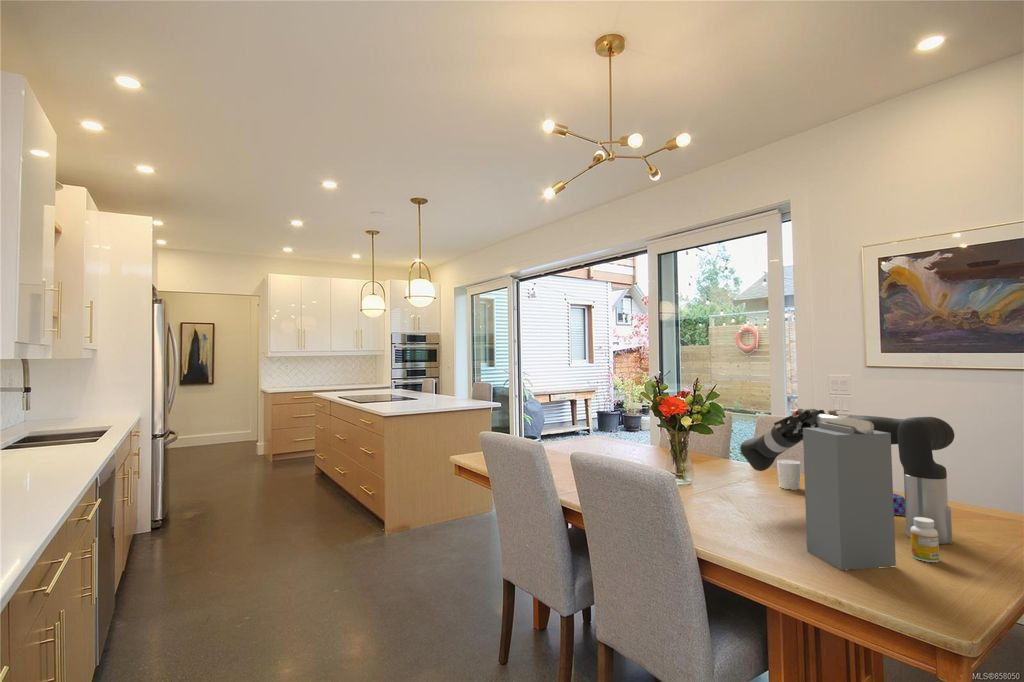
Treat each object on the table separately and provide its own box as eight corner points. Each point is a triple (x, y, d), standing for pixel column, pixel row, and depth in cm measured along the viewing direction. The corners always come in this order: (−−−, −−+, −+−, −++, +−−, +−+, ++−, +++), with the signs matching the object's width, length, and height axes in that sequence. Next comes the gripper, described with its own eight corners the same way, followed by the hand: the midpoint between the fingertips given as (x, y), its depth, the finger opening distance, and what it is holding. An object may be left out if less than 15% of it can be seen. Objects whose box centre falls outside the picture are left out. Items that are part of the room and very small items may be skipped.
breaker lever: (792, 422, 144) (792, 408, 144) (804, 421, 144) (804, 408, 144) (861, 435, 119) (860, 419, 119) (875, 435, 119) (875, 419, 119)
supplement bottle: (911, 552, 129) (910, 514, 129) (939, 557, 125) (937, 518, 126) (911, 559, 125) (909, 520, 125) (939, 565, 121) (938, 524, 121)
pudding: (862, 509, 165) (862, 493, 165) (882, 504, 171) (881, 488, 171) (905, 519, 155) (904, 502, 155) (924, 513, 160) (923, 496, 160)
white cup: (772, 486, 194) (772, 460, 195) (788, 484, 197) (788, 458, 197) (789, 491, 187) (788, 464, 187) (806, 489, 189) (805, 462, 189)
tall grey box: (807, 551, 131) (802, 422, 132) (856, 548, 132) (852, 421, 133) (841, 570, 119) (836, 429, 120) (895, 567, 120) (890, 427, 121)
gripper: (756, 425, 153) (787, 401, 138) (800, 423, 154) (835, 399, 139) (764, 448, 149) (797, 426, 134) (809, 447, 150) (846, 425, 135)
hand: (816, 413), depth 137 cm, fingers closed on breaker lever, 3 cm apart
